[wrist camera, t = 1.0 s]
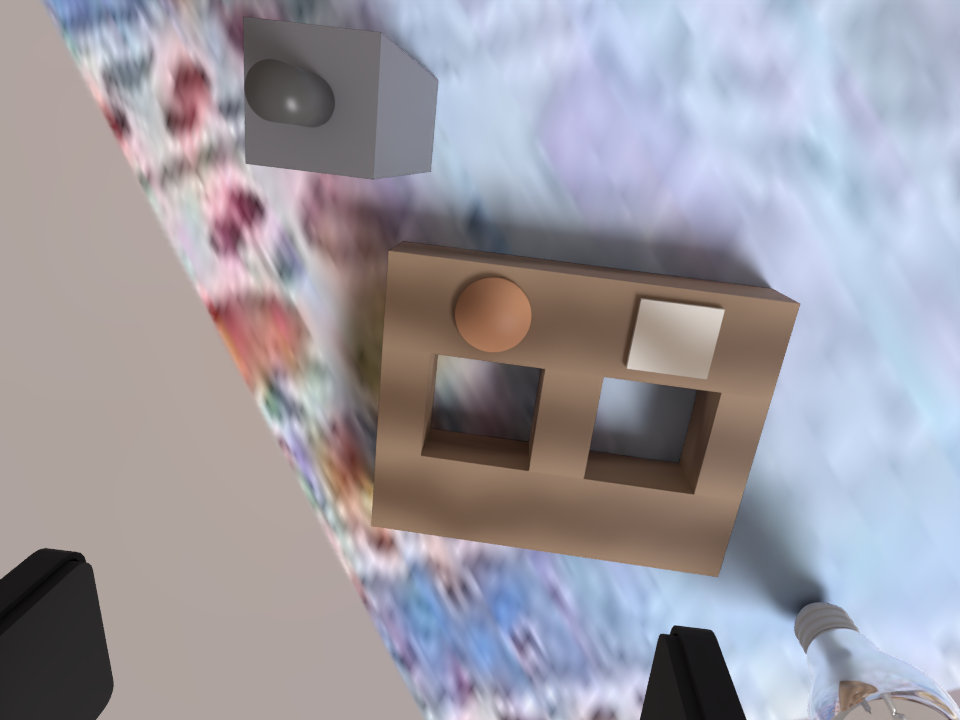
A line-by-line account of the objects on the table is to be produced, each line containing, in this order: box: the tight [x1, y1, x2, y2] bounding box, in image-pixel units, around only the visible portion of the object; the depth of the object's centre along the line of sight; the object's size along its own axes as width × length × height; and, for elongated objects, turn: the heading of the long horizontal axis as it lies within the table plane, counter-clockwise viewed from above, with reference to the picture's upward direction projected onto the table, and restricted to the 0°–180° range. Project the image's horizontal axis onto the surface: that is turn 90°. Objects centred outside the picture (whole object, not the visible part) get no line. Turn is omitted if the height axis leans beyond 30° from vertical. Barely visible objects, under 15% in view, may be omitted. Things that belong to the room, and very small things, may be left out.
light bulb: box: [794, 602, 960, 720], centre depth 32 cm, size 7×7×12 cm
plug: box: [243, 17, 438, 180], centre depth 23 cm, size 4×4×15 cm
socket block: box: [371, 241, 800, 577], centre depth 33 cm, size 16×20×4 cm
